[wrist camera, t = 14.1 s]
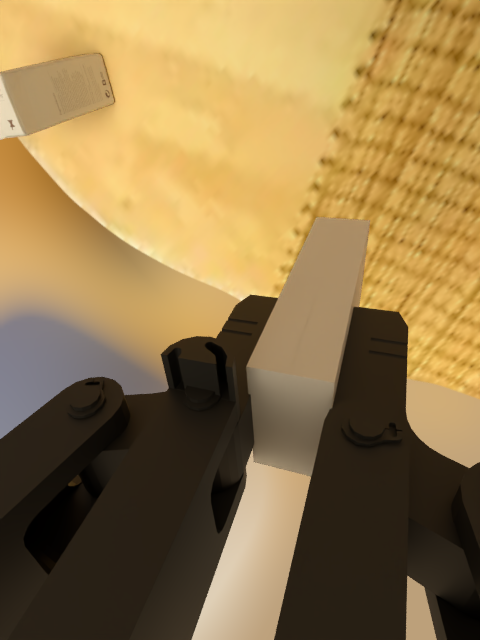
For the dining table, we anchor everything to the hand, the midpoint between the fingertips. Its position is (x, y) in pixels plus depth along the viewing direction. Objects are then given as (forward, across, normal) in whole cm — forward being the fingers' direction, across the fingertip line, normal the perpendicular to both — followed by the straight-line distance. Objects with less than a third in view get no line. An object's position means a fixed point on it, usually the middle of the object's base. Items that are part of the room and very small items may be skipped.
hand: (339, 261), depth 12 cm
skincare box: (+27, -28, +2) cm, 39 cm away
